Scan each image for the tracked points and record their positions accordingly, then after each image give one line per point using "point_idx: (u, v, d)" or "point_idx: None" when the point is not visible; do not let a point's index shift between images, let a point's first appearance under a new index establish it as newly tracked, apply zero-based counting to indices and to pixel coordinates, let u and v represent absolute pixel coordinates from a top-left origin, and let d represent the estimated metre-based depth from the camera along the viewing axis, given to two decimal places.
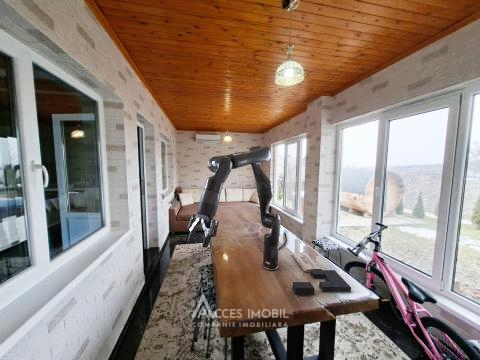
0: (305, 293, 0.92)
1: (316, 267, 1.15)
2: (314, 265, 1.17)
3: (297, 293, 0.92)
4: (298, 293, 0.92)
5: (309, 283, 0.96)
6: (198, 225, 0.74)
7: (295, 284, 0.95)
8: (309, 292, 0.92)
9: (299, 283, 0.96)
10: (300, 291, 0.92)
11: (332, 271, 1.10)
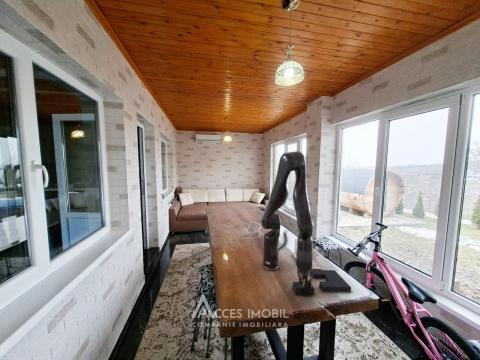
0: None
1: (316, 267, 1.15)
2: (314, 265, 1.17)
3: (297, 293, 0.92)
4: (298, 293, 0.92)
5: None
6: None
7: (295, 284, 0.95)
8: (309, 292, 0.92)
9: (299, 283, 0.96)
10: (300, 291, 0.92)
11: (332, 271, 1.10)
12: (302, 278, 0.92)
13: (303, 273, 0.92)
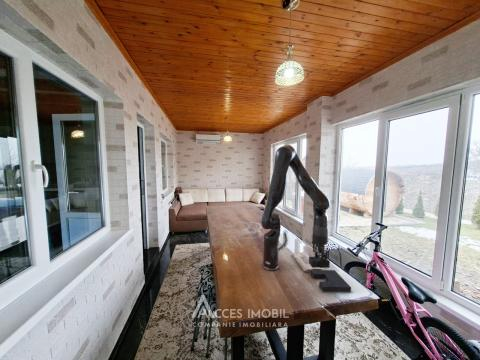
0: None
1: None
2: None
3: (314, 266, 1.00)
4: (314, 266, 1.00)
5: None
6: None
7: (311, 258, 1.02)
8: (325, 265, 1.00)
9: (315, 257, 1.03)
10: (316, 263, 0.99)
11: (332, 271, 1.10)
12: (318, 252, 0.99)
13: (319, 247, 0.99)
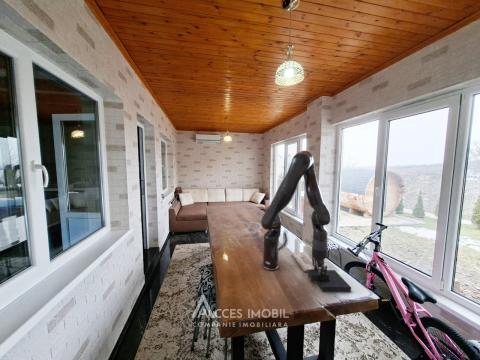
0: None
1: None
2: None
3: (313, 280, 1.00)
4: (314, 280, 1.00)
5: None
6: None
7: (311, 272, 1.03)
8: (324, 279, 1.00)
9: (314, 271, 1.04)
10: (316, 278, 1.00)
11: (332, 271, 1.10)
12: (318, 266, 1.00)
13: (319, 261, 0.99)
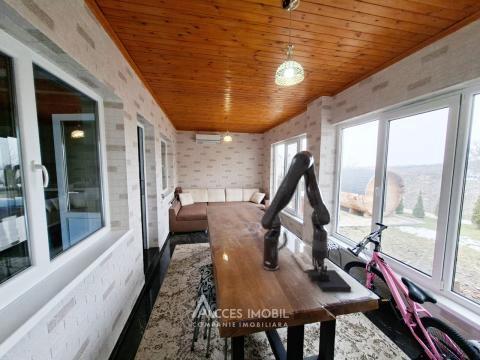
0: None
1: None
2: None
3: (313, 280, 1.00)
4: (314, 280, 1.00)
5: None
6: None
7: (311, 272, 1.03)
8: (324, 279, 1.00)
9: (314, 271, 1.04)
10: (316, 278, 1.00)
11: (332, 271, 1.10)
12: (318, 266, 1.00)
13: (319, 261, 0.99)
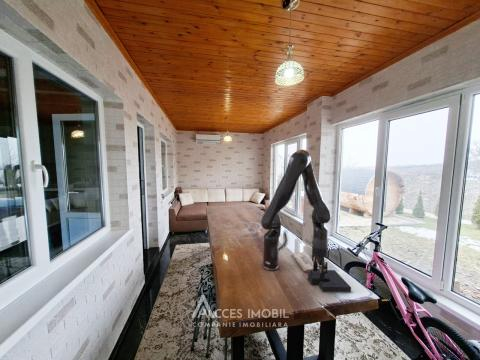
0: None
1: None
2: None
3: (313, 283, 1.01)
4: (314, 283, 1.01)
5: None
6: None
7: (311, 275, 1.03)
8: None
9: (314, 274, 1.04)
10: (315, 281, 1.01)
11: (332, 271, 1.10)
12: (318, 263, 0.99)
13: (319, 259, 1.00)
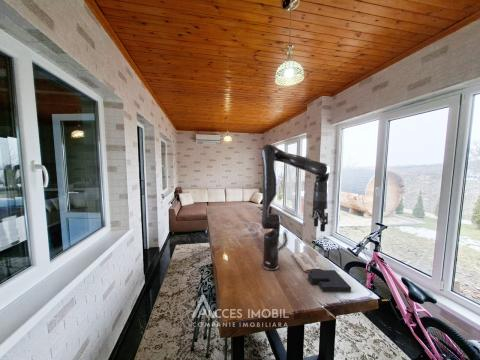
0: None
1: (316, 267, 1.15)
2: (314, 265, 1.17)
3: (313, 283, 1.01)
4: (314, 283, 1.01)
5: (323, 274, 1.05)
6: None
7: (311, 275, 1.03)
8: None
9: (314, 274, 1.04)
10: (315, 281, 1.01)
11: (332, 271, 1.10)
12: (319, 216, 1.02)
13: (319, 212, 1.02)
